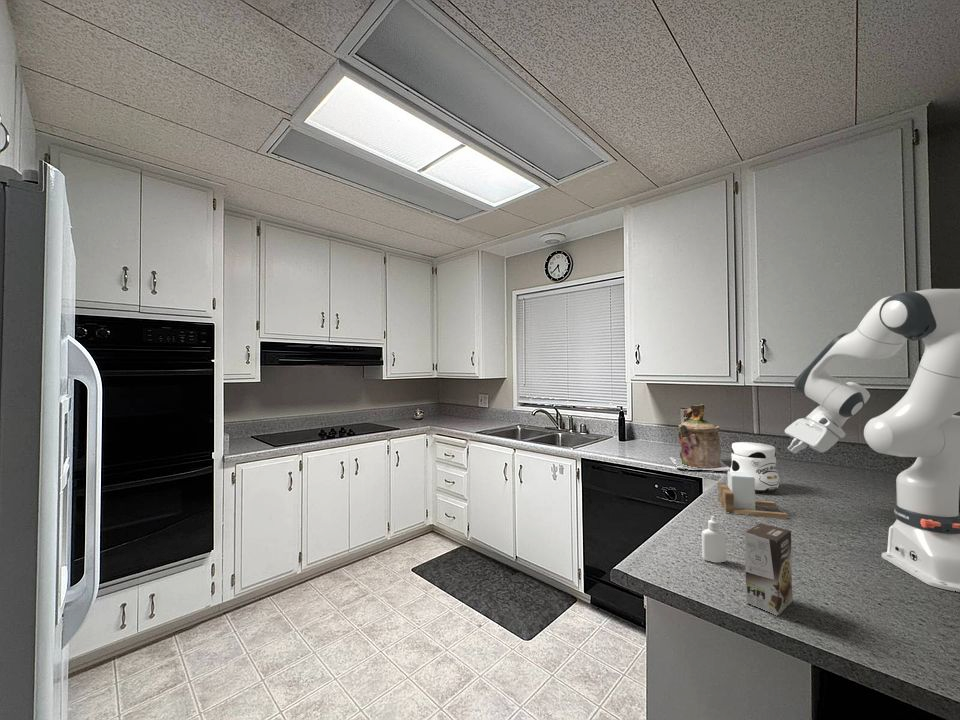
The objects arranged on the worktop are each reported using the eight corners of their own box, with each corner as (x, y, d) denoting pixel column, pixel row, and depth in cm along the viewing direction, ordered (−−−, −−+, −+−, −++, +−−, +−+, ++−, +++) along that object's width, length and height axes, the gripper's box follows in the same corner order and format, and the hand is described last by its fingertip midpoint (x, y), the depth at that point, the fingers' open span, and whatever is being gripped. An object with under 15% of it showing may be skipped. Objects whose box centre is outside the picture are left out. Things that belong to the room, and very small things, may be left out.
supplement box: (756, 513, 145) (755, 477, 145) (731, 511, 147) (730, 475, 147) (750, 506, 151) (750, 472, 152) (727, 504, 154) (726, 470, 154)
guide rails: (787, 519, 139) (787, 514, 139) (726, 513, 145) (726, 509, 145) (775, 506, 151) (774, 502, 151) (719, 501, 157) (719, 497, 157)
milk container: (779, 498, 160) (777, 451, 160) (727, 490, 170) (726, 447, 170) (780, 486, 173) (779, 444, 173) (732, 480, 184) (731, 440, 184)
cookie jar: (719, 461, 217) (717, 401, 218) (734, 474, 194) (733, 406, 194) (668, 459, 224) (667, 401, 224) (677, 471, 200) (676, 405, 200)
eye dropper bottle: (704, 554, 115) (703, 511, 115) (727, 560, 112) (726, 516, 112) (700, 560, 112) (699, 516, 112) (724, 566, 108) (723, 521, 108)
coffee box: (778, 617, 87) (777, 541, 87) (744, 603, 92) (743, 531, 92) (794, 602, 92) (792, 530, 92) (761, 589, 97) (759, 521, 97)
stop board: (734, 514, 144) (733, 494, 144) (725, 513, 145) (725, 493, 145) (726, 501, 156) (725, 483, 157) (718, 501, 157) (718, 483, 157)
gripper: (798, 410, 152) (769, 437, 154) (832, 423, 132) (799, 454, 135) (812, 421, 151) (783, 448, 154) (849, 436, 131) (815, 467, 134)
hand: (791, 451), depth 144 cm, fingers closed
